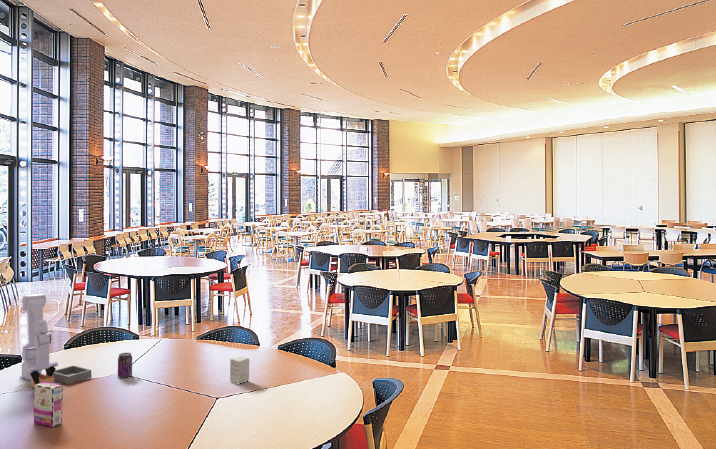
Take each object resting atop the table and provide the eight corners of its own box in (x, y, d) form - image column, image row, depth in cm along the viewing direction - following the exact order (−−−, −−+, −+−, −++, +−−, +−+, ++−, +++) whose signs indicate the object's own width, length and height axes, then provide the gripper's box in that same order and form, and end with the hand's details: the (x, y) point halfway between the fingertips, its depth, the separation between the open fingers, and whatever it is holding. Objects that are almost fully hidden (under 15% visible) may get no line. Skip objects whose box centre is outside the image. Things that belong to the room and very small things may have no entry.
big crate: (49, 379, 268) (49, 371, 268) (73, 372, 280) (73, 365, 280) (68, 384, 261) (68, 376, 261) (91, 377, 273) (91, 369, 273)
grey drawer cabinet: (240, 378, 278) (240, 355, 278) (249, 381, 274) (249, 358, 273) (229, 382, 272) (229, 358, 272) (238, 385, 268) (239, 361, 267)
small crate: (31, 386, 257) (31, 376, 257) (41, 383, 262) (41, 373, 262) (43, 390, 252) (43, 380, 252) (53, 386, 257) (54, 377, 257)
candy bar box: (63, 423, 215) (63, 384, 215) (52, 428, 211) (52, 388, 210) (44, 418, 219) (44, 381, 219) (33, 423, 215) (33, 384, 214)
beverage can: (126, 378, 272) (126, 356, 272) (114, 377, 274) (115, 355, 273) (134, 374, 279) (135, 352, 279) (123, 373, 281) (123, 351, 280)
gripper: (33, 362, 248) (32, 389, 249) (61, 354, 261) (61, 381, 262) (24, 359, 252) (24, 387, 252) (53, 352, 265) (52, 378, 265)
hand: (42, 383), depth 257 cm, fingers closed on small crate, 5 cm apart
